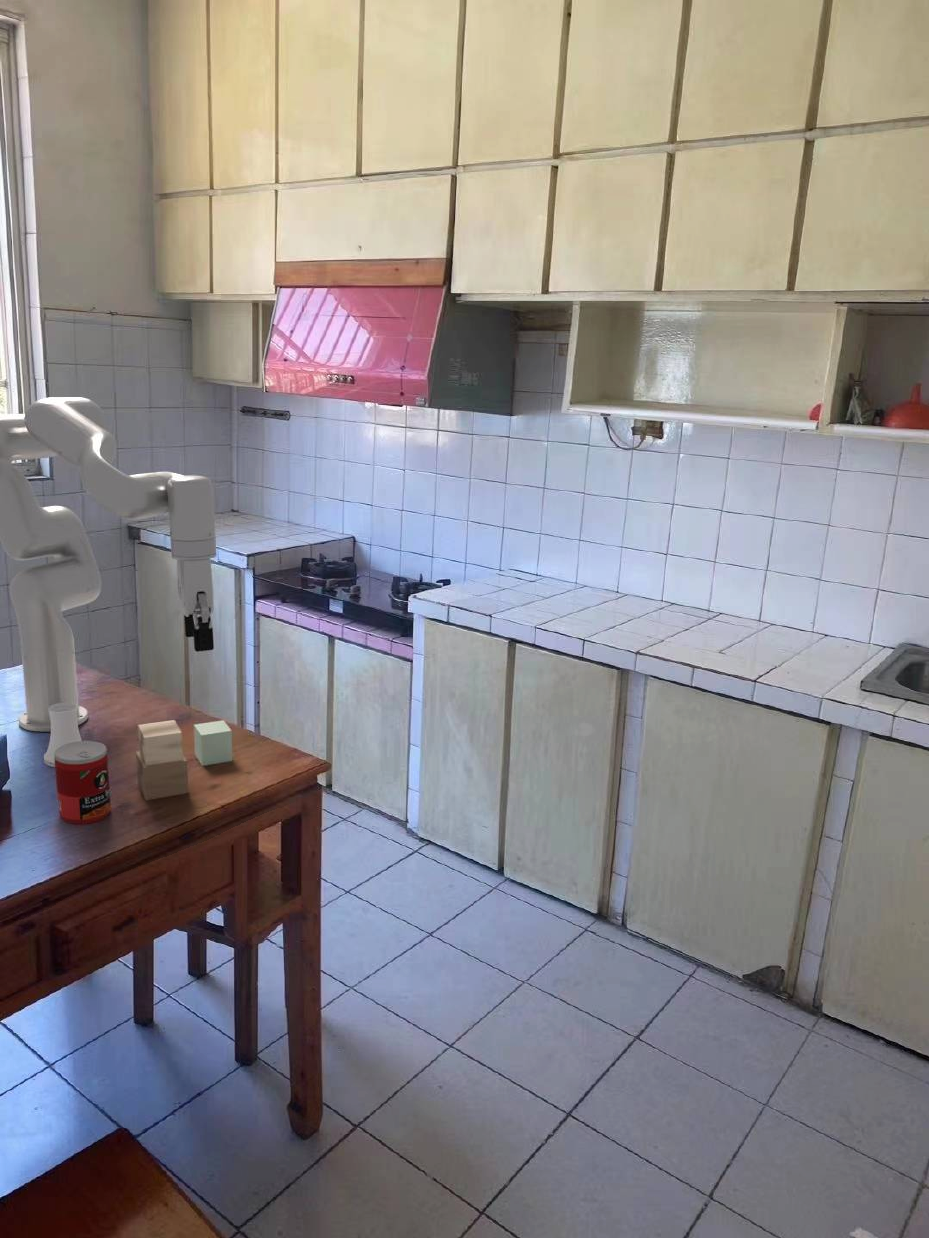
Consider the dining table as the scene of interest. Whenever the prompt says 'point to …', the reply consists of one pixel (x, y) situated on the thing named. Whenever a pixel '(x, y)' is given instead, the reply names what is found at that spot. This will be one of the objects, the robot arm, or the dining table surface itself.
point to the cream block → (162, 778)
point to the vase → (61, 729)
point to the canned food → (82, 781)
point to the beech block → (160, 742)
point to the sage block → (213, 742)
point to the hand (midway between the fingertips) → (199, 643)
